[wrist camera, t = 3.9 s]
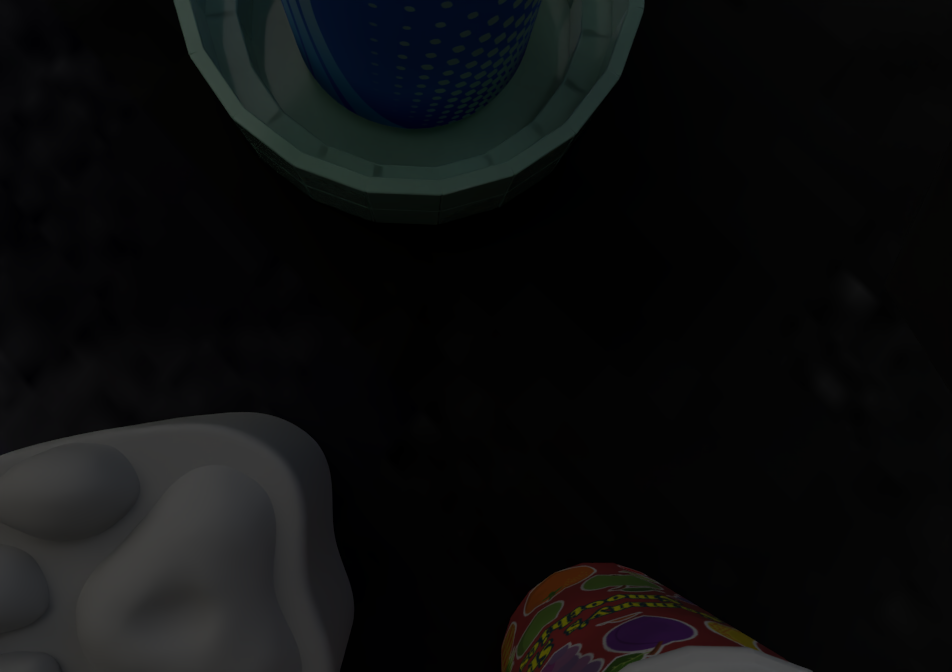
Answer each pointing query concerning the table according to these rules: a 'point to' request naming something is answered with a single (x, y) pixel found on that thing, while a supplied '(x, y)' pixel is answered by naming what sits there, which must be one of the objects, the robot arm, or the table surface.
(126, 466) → the lumpy-topped squat cylinder
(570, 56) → the pale green round tub
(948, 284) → the robot arm
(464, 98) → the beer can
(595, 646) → the smoothie
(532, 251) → the table surface
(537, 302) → the table surface
